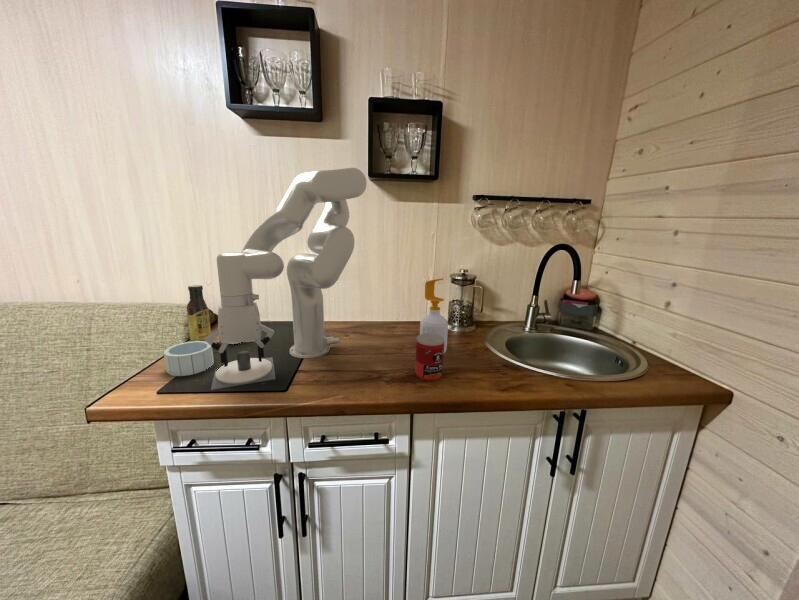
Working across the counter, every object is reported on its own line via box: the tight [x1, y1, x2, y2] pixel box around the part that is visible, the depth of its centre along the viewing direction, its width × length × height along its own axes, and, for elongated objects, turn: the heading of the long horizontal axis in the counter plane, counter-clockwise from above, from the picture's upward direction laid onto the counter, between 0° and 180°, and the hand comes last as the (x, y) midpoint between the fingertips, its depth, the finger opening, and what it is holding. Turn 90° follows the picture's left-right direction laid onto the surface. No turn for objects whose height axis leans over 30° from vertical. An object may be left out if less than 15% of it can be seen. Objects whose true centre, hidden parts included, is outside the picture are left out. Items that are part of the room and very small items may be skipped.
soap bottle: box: [419, 278, 449, 354], centre depth 104 cm, size 9×9×25 cm
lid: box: [216, 350, 272, 384], centre depth 87 cm, size 14×14×6 cm
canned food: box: [414, 333, 445, 382], centre depth 88 cm, size 8×8×11 cm
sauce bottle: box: [186, 284, 212, 342], centre depth 106 cm, size 6×6×20 cm
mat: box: [210, 356, 276, 391], centre depth 88 cm, size 15×15×1 cm
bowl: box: [163, 341, 215, 377], centre depth 89 cm, size 11×11×6 cm
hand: (243, 361), depth 87 cm, fingers open, 7 cm apart
